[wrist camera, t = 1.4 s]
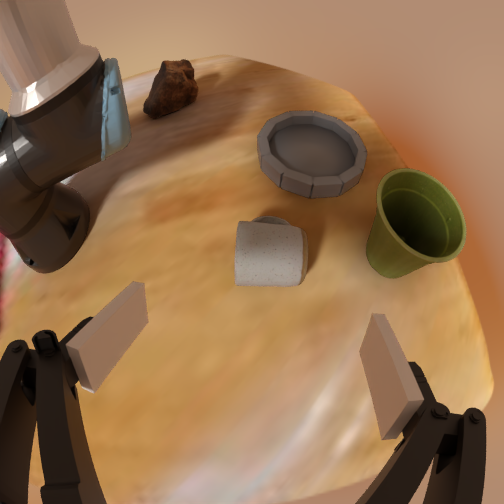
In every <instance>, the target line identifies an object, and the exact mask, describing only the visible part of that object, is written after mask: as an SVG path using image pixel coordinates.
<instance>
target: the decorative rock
mask: <svg viewBox="0 0 504 504" xmlns="http://www.w3.org/2000/svg"><path fill="white" fill-rule="evenodd" d="M197 94H198V87H197V83H196V82H195V80H194V69H193V67H192V65H191V63H190V62H189V61H188V60H184V59H183V60H181V61H163V62H162V64H161V68H160V70H159V72H158V74H157V75H156V76H155V78H154V82H153V85H152V88H151V91H150V93H149V97H148V98H147V99H146V101H145V103H144V108H143V111H144V113H146V114H147V115H149V116H150V117H152V118H153V119H156V118H158V117H159V116H161V115H166V114H168V113H171V112H174V111H178V110H179V109H180V108H181V107H183V106H184V105H187V104H189V103H192V102H194V101H195V99H196V97H197Z"/></svg>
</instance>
